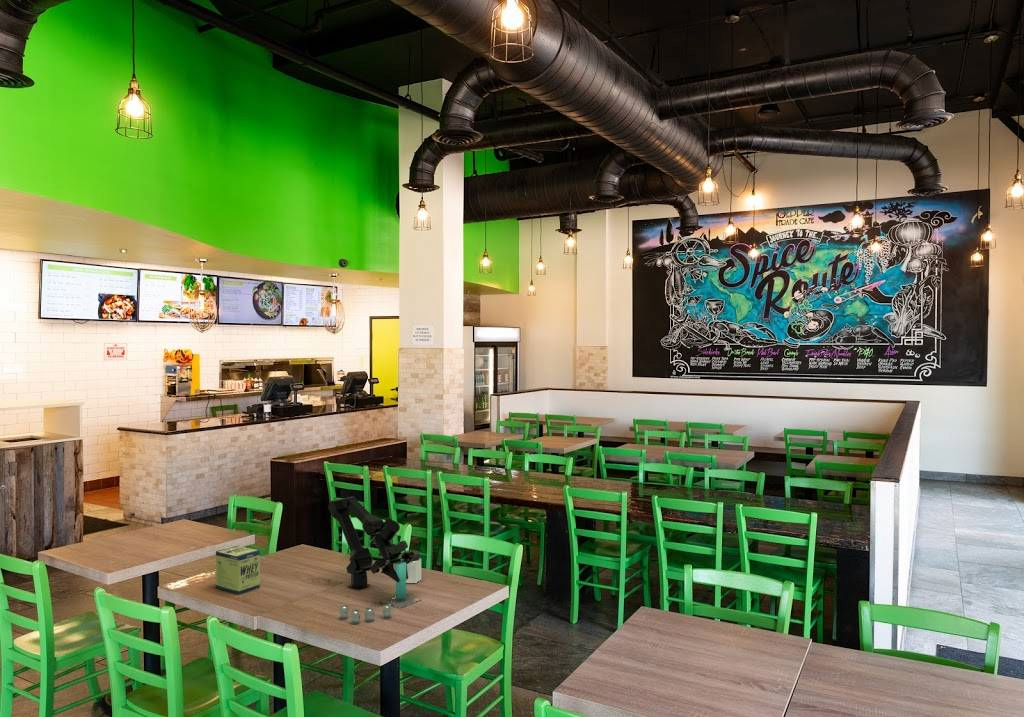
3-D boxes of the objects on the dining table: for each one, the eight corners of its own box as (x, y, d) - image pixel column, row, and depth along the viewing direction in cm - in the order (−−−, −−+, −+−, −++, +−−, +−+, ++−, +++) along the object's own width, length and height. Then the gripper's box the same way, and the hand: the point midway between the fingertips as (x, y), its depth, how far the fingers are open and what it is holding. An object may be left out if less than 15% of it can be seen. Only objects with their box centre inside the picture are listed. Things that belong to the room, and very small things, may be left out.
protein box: (239, 595, 282) (239, 556, 282) (214, 588, 290) (214, 550, 290) (260, 587, 291) (260, 550, 291) (236, 581, 299) (236, 545, 299)
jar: (424, 581, 298) (424, 553, 298) (408, 585, 293) (407, 556, 293) (413, 576, 305) (413, 548, 305) (397, 580, 299) (396, 552, 299)
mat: (380, 602, 272) (380, 601, 272) (401, 594, 281) (401, 593, 281) (400, 608, 266) (400, 607, 266) (421, 600, 275) (421, 599, 275)
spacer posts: (336, 618, 256) (336, 607, 256) (365, 607, 267) (365, 597, 267) (364, 628, 247) (364, 616, 247) (393, 616, 258) (393, 605, 258)
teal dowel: (394, 598, 272) (394, 564, 272) (397, 594, 276) (397, 561, 276) (404, 598, 271) (404, 564, 271) (407, 594, 275) (407, 561, 275)
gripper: (375, 539, 269) (393, 574, 262) (412, 530, 283) (431, 563, 276) (362, 556, 274) (380, 590, 267) (399, 546, 288) (417, 579, 281)
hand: (403, 580), depth 273 cm, fingers closed on teal dowel, 4 cm apart
